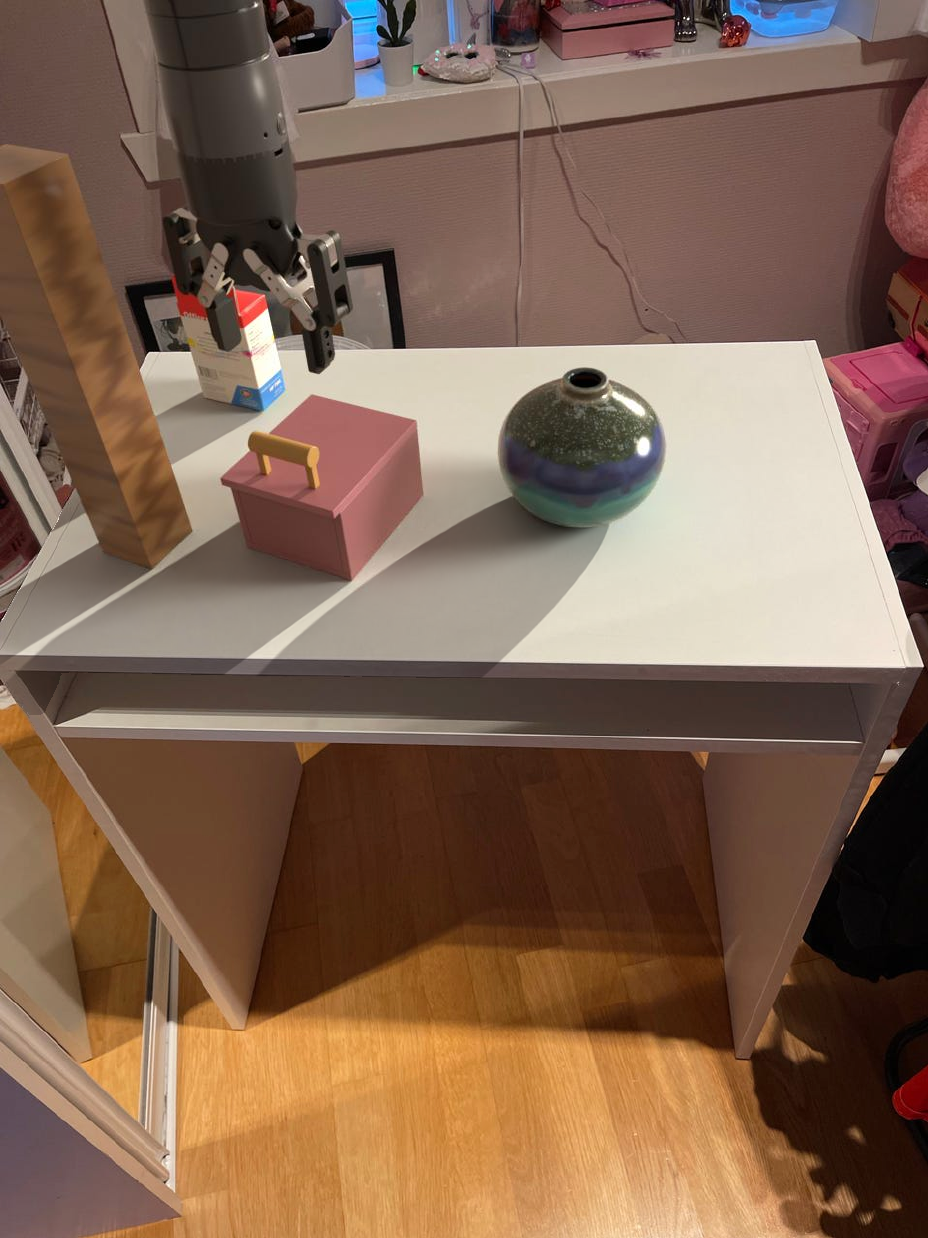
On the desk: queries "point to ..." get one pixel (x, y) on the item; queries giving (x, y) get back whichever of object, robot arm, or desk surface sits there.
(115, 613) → the desk surface
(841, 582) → the desk surface
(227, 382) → the ink box
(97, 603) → the desk surface
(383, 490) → the chest
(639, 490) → the vase
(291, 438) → the lid
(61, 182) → the pedestal
